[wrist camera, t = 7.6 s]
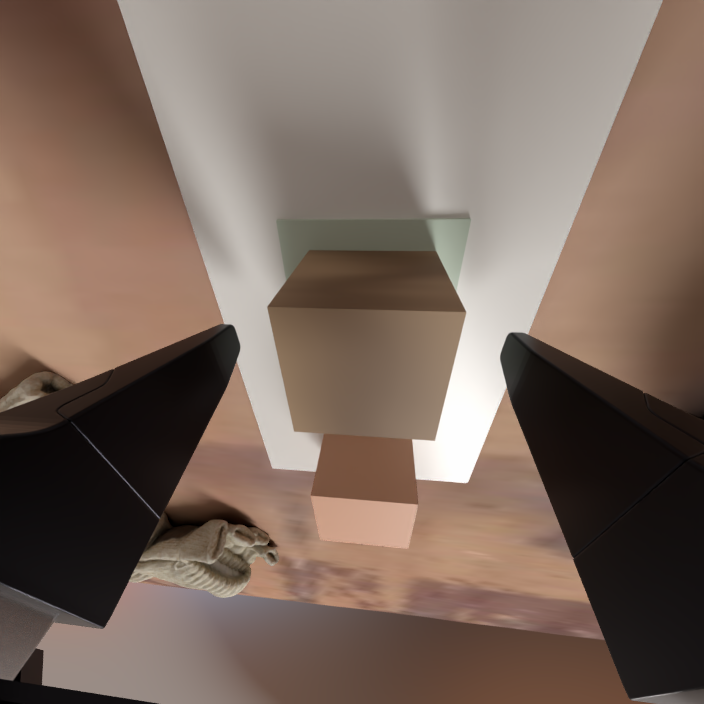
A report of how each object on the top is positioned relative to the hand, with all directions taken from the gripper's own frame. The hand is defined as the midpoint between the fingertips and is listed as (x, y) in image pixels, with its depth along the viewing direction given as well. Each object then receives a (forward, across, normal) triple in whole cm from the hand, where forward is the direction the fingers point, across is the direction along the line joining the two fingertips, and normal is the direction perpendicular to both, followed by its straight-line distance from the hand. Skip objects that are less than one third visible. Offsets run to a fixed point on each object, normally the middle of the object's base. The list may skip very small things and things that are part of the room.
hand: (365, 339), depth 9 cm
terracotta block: (+3, 0, +9) cm, 9 cm away
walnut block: (+2, 0, 0) cm, 2 cm away
